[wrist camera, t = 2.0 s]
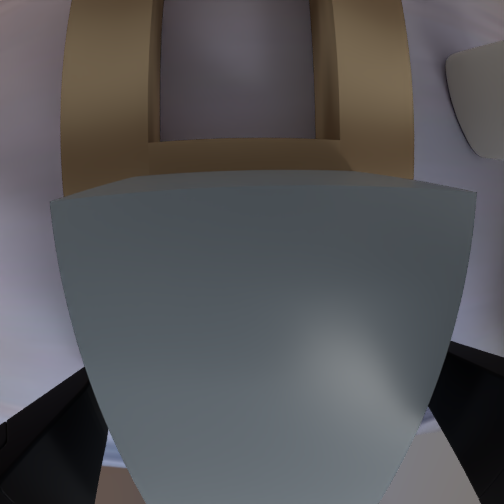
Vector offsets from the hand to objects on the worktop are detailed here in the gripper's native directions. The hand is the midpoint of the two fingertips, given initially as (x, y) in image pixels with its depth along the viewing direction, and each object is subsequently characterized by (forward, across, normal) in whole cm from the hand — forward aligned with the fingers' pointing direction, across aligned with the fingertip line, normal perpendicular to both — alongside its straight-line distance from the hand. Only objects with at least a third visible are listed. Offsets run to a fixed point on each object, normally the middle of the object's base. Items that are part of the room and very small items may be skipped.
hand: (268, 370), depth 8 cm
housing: (+3, 0, 0) cm, 3 cm away
